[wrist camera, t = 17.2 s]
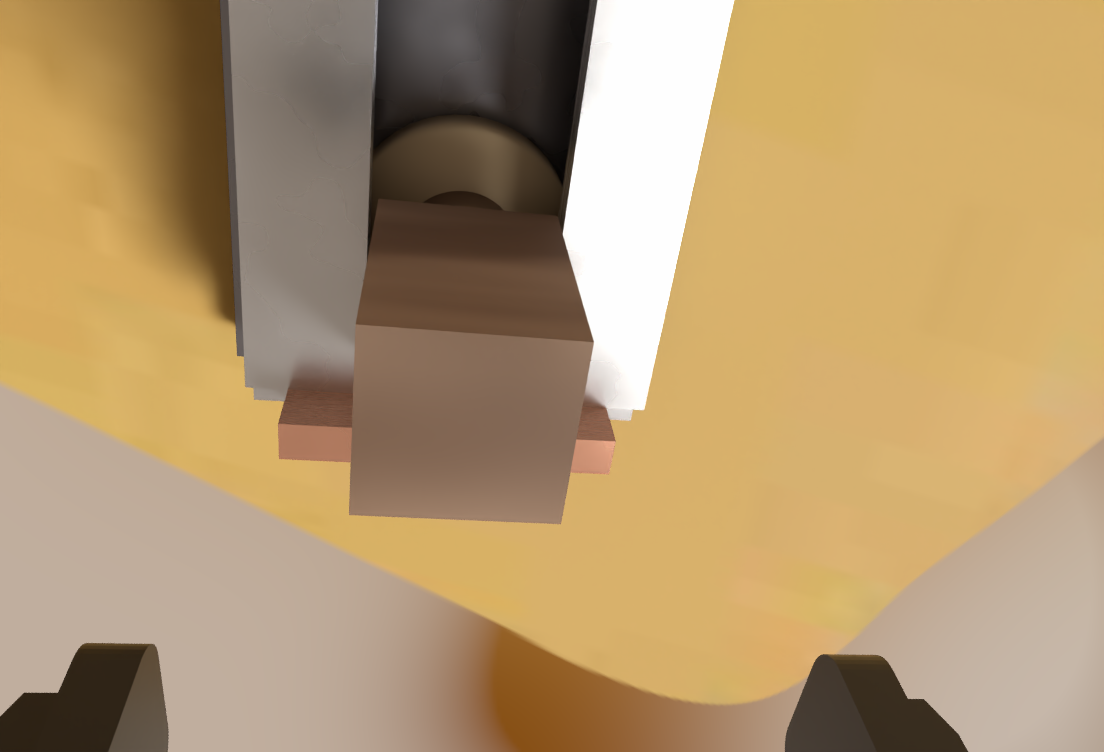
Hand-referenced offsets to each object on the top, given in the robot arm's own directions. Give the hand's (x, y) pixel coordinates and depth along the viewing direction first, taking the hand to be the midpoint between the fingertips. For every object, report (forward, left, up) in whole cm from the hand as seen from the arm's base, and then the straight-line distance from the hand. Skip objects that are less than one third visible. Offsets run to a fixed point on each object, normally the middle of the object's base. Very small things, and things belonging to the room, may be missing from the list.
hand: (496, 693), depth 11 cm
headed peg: (0, 0, -16) cm, 16 cm away
